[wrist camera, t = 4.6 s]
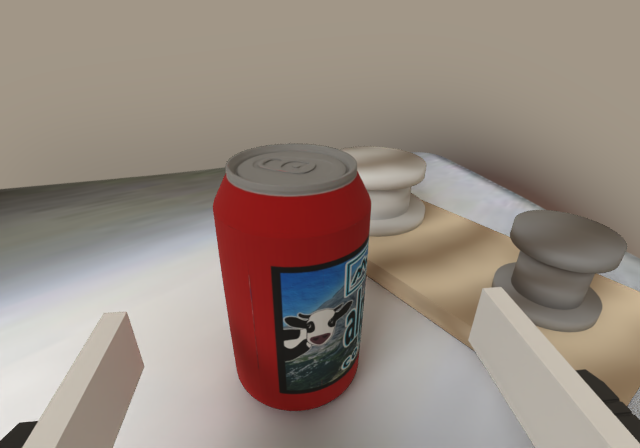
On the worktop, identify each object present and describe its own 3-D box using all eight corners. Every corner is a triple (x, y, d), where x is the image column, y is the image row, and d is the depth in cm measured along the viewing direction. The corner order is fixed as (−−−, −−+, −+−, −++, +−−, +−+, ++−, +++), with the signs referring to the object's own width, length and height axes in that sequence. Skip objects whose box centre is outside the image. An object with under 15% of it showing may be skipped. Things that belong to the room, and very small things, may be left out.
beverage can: (333, 444, 16) (342, 208, 11) (211, 393, 19) (167, 176, 13) (371, 341, 22) (391, 149, 16) (274, 311, 24) (262, 133, 19)
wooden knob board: (285, 217, 36) (282, 155, 33) (371, 191, 43) (375, 136, 40) (603, 442, 17) (669, 339, 14) (676, 330, 23) (732, 242, 20)
